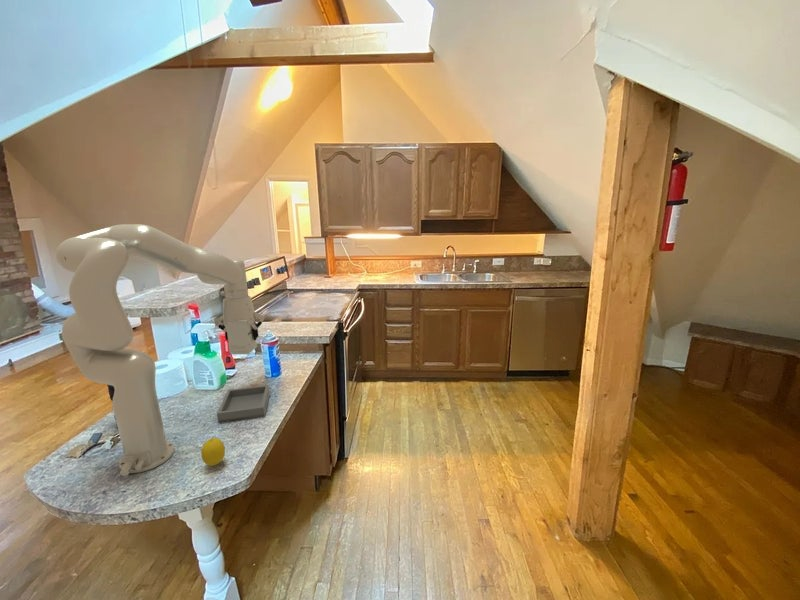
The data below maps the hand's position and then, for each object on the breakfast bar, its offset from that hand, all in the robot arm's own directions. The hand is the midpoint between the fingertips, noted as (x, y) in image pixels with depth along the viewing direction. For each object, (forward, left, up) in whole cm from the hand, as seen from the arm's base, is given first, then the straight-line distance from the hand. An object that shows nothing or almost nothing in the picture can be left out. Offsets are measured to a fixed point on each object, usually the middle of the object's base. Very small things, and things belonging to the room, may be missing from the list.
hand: (242, 340), depth 132 cm
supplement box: (0, 0, -4) cm, 4 cm away
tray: (-14, -1, -20) cm, 24 cm away
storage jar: (-13, +33, -20) cm, 41 cm away
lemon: (-43, +2, -20) cm, 47 cm away
